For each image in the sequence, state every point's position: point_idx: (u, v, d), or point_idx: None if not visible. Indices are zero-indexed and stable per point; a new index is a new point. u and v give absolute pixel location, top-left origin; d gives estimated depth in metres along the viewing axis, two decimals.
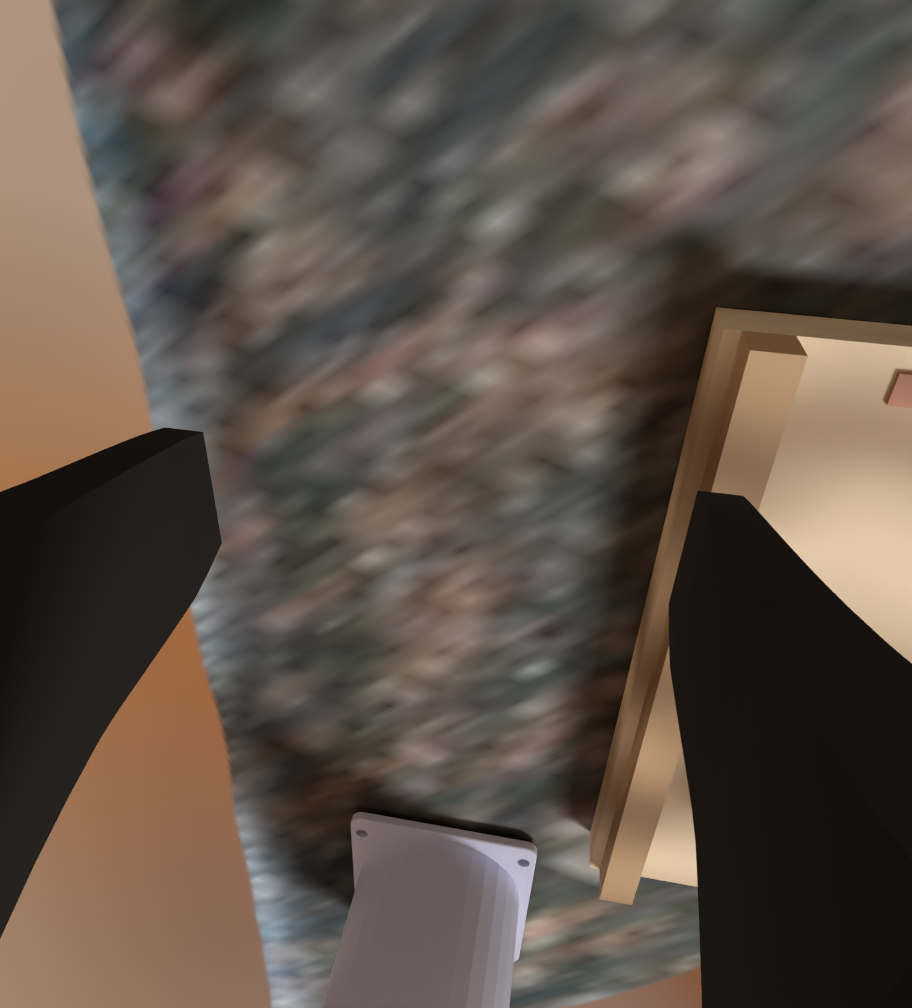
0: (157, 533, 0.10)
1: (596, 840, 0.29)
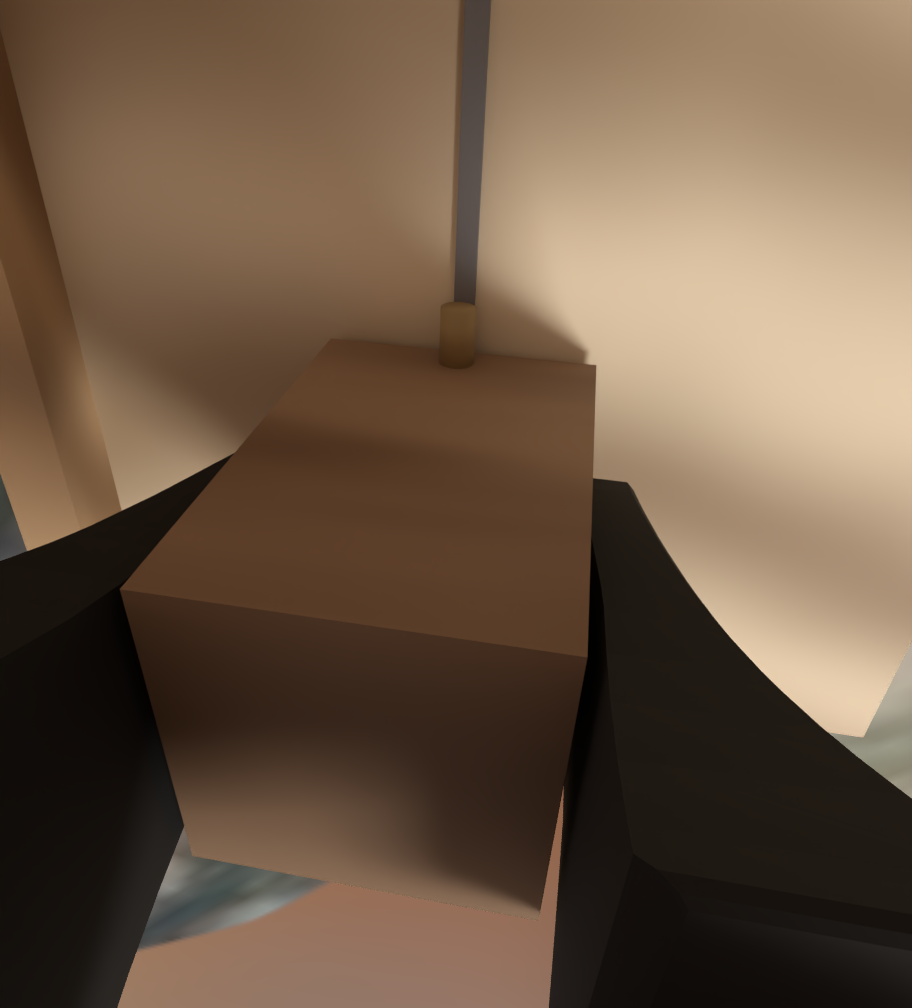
0: None
1: None
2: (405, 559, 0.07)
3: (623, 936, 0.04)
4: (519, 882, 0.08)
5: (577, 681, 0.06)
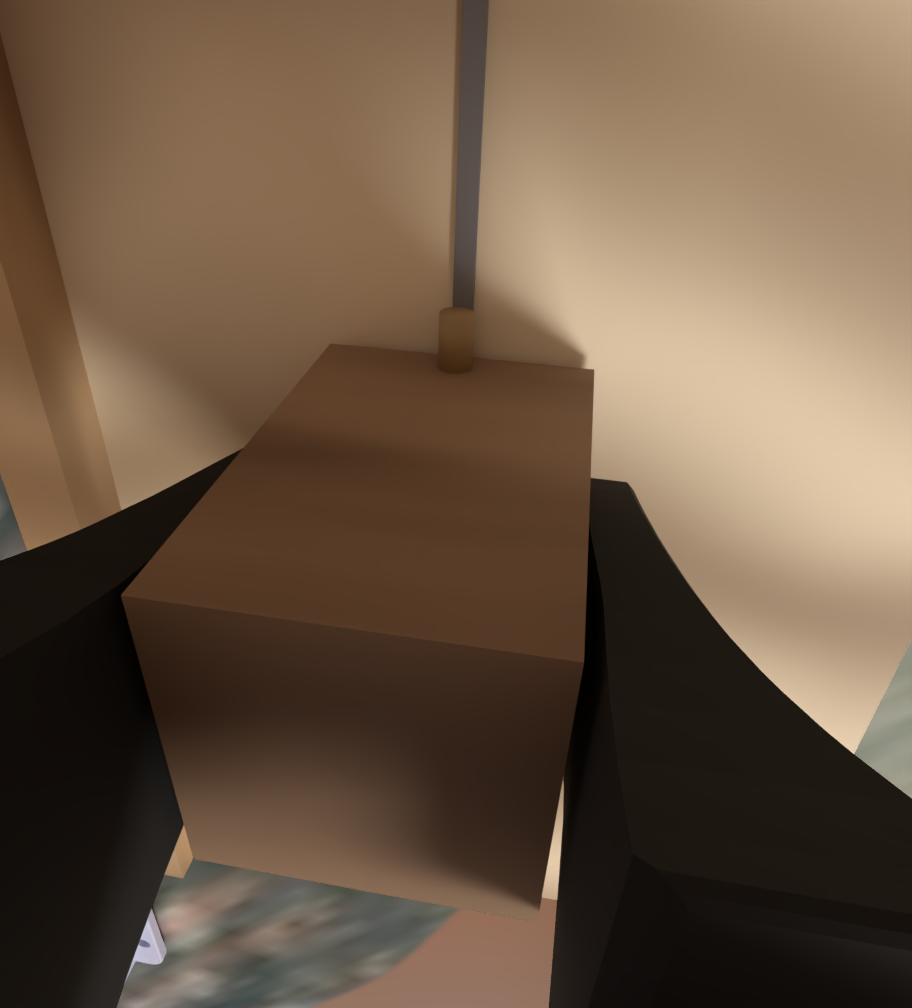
0: None
1: None
2: (403, 563, 0.07)
3: (622, 935, 0.04)
4: (517, 885, 0.08)
5: (574, 686, 0.06)
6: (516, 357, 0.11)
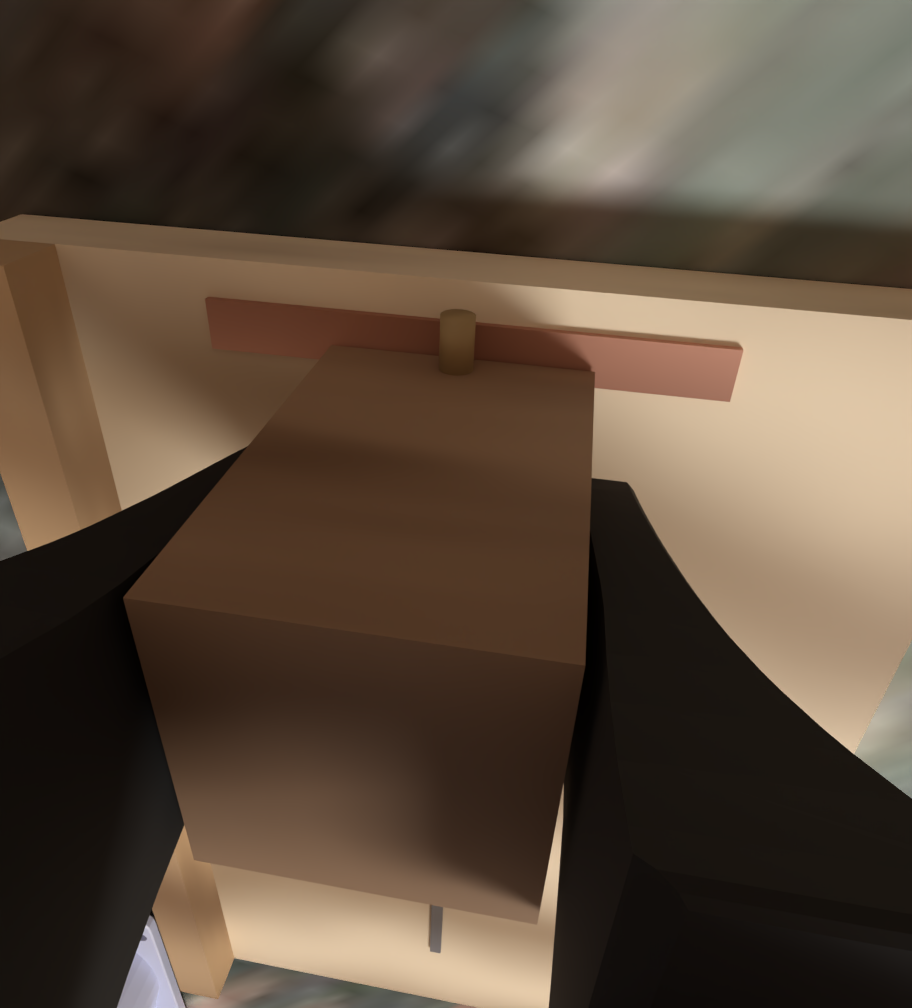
0: None
1: None
2: (404, 566, 0.07)
3: (622, 935, 0.04)
4: (518, 886, 0.08)
5: (575, 689, 0.06)
6: None
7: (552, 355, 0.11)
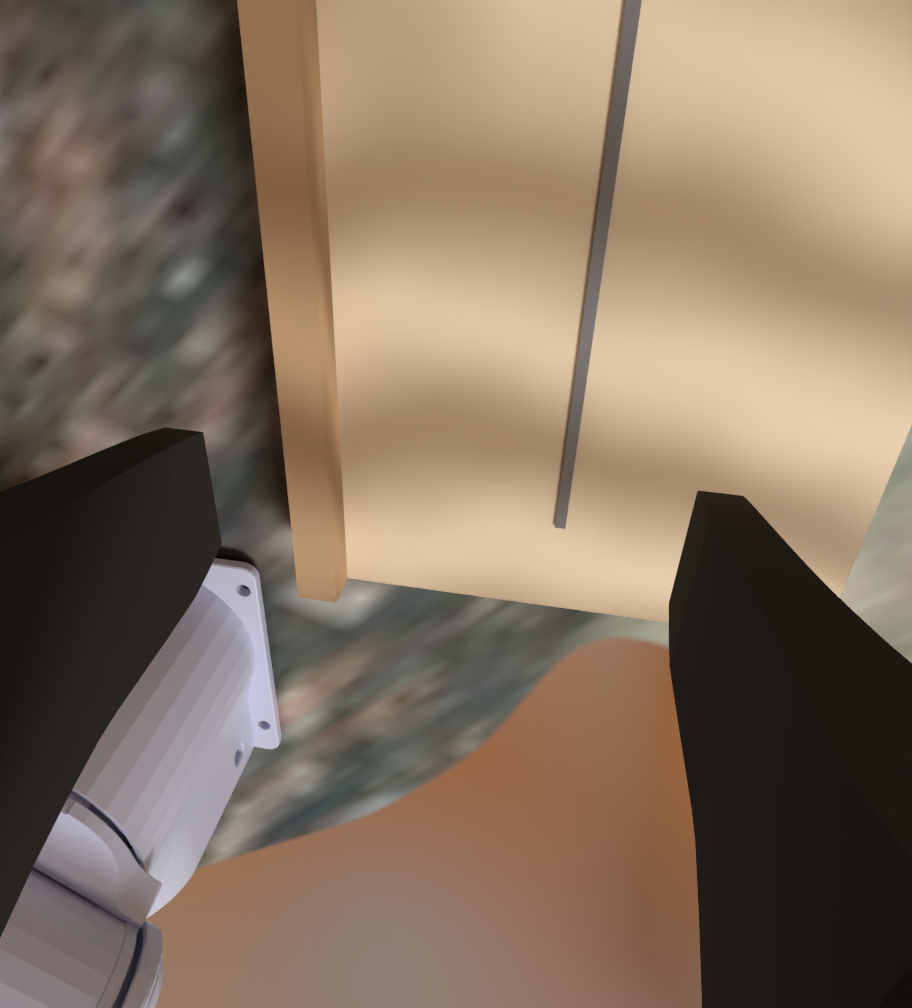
0: (157, 533, 0.10)
1: None
2: None
3: None
4: None
5: None
6: (666, 71, 0.15)
7: None
